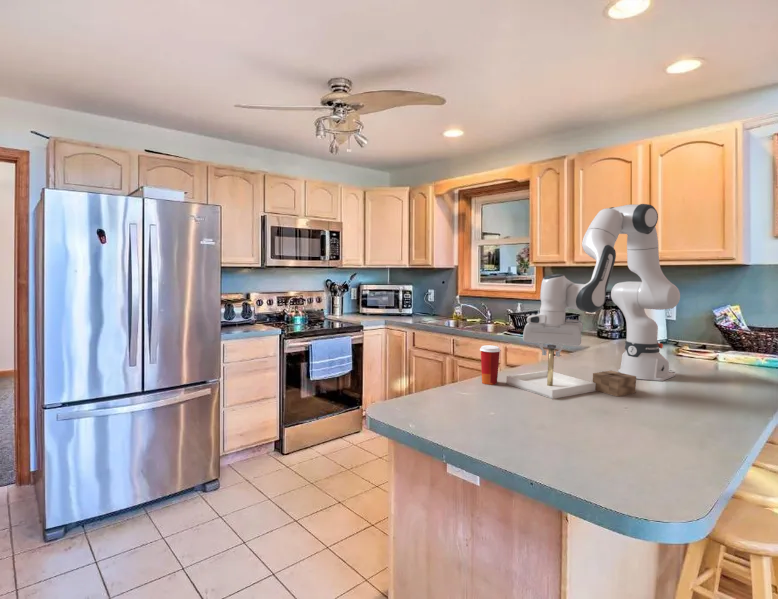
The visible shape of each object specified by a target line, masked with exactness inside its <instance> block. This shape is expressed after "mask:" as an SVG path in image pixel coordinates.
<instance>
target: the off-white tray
mask: <svg viewBox="0 0 778 599" xmlns="http://www.w3.org/2000/svg"><path fill="white" fill-rule="evenodd" d="M547 374H548V369H547V370H540V371H535V372H526V373H525V372H524V373H519V374H512V375H506V380H505V381H506V385H509V386H512V387H515V388H518V389H521V390H524V391H527V392H531V393H534V394H535V395H539V396H542V397H545V398H548V399H551V400H555V399H559V398H566V397H570V396H576V395H582V394H586V393H587V394H588V393H592V392H596V390H595V386H596V383H594V382H593V381H590V380H586V379H582V378H578V377H576V376H575V377H574V376H571V375H567V374H563V373H559V372H555V371H553V386H548V385H547Z"/></svg>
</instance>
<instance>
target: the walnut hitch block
mask: <svg viewBox="0 0 778 599" xmlns="http://www.w3.org/2000/svg"><path fill="white" fill-rule="evenodd" d="M592 382H594V383H596V386H595V392H596V391H597V392H600V393H604V394H607V395H612V396H614V397H621V396H626V395H632V394H635V393H636V390H637V388H636V387H637V386H636V384H637V379H636V376H632V375H628V374H624V373H620V372H618V371H614V370H605V371H599V372H594V373H592Z"/></svg>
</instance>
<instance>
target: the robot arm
mask: <svg viewBox="0 0 778 599" xmlns="http://www.w3.org/2000/svg"><path fill="white" fill-rule="evenodd" d="M658 220H659V213H658V211H657V209H656V208H655V207H654V205H652V204H647V203H640V204H625V205H620V206H615V207H614V206H613V207H608V208H602V209H601V210H599V211H598V212H597V214H596V215H595V217H593V219H592V221H590V224H589V225H588V228H587V229H586V231H585V233H584V235H583V238H582V243H581V246H582V249H583V251H584V252H585V254H586V255H587V256H588V257H590V258H592V259H593V260H595V265H594V269H593V271H592V275H591V279H590V280H589V281H588V282H587V283H585V284H584V283H575V282H573V281H571V280H569V279H568V278H567V277H566V276H565V274H561V273H554V274H553V273H552V274H548V275H546V276H544V277H543V278H542V281H541V284H540V285H541V286H540V295H539V296H540V299H539V300H540V301H541V302H540V304H541V305H540V308H539V313H534V314H531V315H528V316H527V318H526V321H527V323H526V324H525V326H524V329H523V334H522V340H523V342H524V343H531V344H532V343H534V344H535V343H537V344H539V345H538V346H539V348H540V350H541V352H542V353H541V355H542V356H547V355H548V354H547V352H548V351H547V349H545V348H544V346H545V345H544V344H547V345H558V347H559V349H558V350H555V357H560V356H561V351H562V350H563V349H564V346H565V345H567V346H577V347H578V346H579V347H580V346H581V344H582V334H581V332H582V331H583V330H584V325H583V324H584V323H583V322H582V321H580V320H579V319H571V318H570V319H569V318H566V309H570V310H576V311H582V312H585V313H589V314H593V313H597V312H598V311H599V310H601V309H602V308H603V306H604V304H605V302H606V297H607V296H606V295H607V289H608V286H609V283H610V278H611V276H612V272H613V269H614V266H615V262H616V257H617V252H616V249H615V244H616V242H617V240H618V238H619V235H626V237H627V238H626V260H627V261H626V262H627V267H628V269H629V270H630V272H632V273H634V274H636V275H637V276H638V277H639V278H640V280H641V281H621V282H618V283H615V284H614V286H613V287H612V288H611V292H610V298H611V301H612V302H613V304H615V305H616V306H617V307H618V308H619V309H620V311H621V312H622V314H623V316H624V318H625V322H626V324H625V325H626V340H625V341H624V342H625V343H624V350H625V351H624V352H623V353H622V355H621V364H620V368H618V370H617V372H619V373H624V374H628V375H632V376H636V380H647V381H658V382H659V381H660V382H664V381H666V380H668V379H670V378H671V379H672V378H674V377H675V376H676V373H674V372H672V371H670V364H669V361H668V360H667V359H666V358H665V357H664V356H663V355H662V354H661V352H660V349H663V343H660V342H658V336H659V334H658V331H659V327H658V326H659V325H658V323H657V322H656V321H655V320H654V319H652V318H651V317H649V316H648V315H647V313H646V311H645V309H646V310H659V311H661V310H669V309H670V310H671V309H674V308H676V307H677V306H678V304H679V303H680V299H681V293H680V289H679V287H677V286H676V285H675V284H674V283H672V282H671V281H670V280H669V279H668V278H667V277H666V275H665V274H664V272H663V270H662V267H661V265H660V264H661V263H660V255H659V254H660V252H659V240H658V239H659V237H658V232H657V228H656V227H657V224H658Z"/></svg>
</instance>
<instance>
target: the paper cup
mask: <svg viewBox="0 0 778 599" xmlns="http://www.w3.org/2000/svg"><path fill="white" fill-rule="evenodd" d="M479 351H480V366H481V368H480V369H481V371H480V372H481V382H482V384H484V385H489V386H490V385H491V386H493V385H497V384H498V383H497V382H498V376H499V364H500V363H499V362H500V355H501V354H500V353H501V349H500V347H499V346H497V345H492V344H491V345H490V344H489V345H481V347H480V348H479Z"/></svg>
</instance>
